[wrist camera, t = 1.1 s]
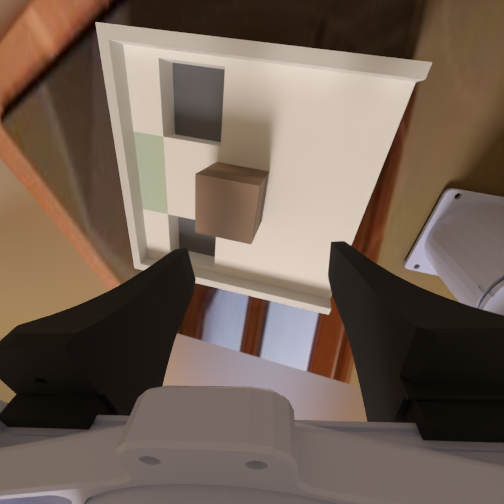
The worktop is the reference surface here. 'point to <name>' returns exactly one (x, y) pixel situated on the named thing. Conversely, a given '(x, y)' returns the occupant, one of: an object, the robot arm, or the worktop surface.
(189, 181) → the box
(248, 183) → the walnut block
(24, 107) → the worktop surface
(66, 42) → the worktop surface
